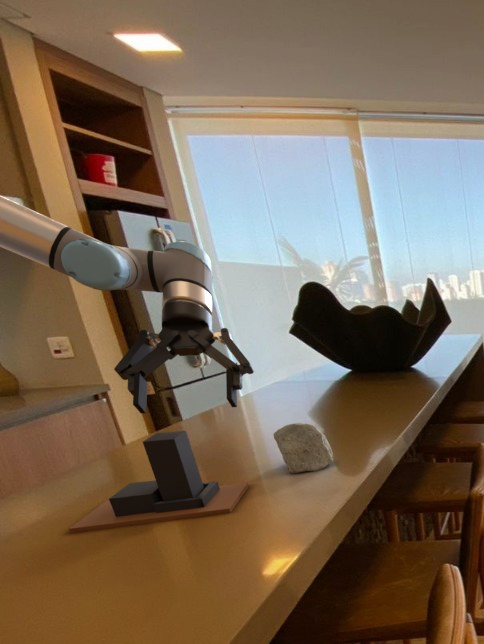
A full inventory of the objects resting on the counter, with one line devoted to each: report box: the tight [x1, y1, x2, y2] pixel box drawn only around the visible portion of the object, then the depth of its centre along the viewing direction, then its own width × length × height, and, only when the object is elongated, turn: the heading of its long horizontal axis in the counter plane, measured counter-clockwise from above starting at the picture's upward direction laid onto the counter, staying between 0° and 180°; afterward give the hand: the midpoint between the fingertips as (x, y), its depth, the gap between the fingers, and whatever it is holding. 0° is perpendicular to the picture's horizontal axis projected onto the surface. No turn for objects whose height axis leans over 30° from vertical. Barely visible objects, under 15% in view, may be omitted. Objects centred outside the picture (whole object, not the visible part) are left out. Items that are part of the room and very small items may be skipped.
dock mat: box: [68, 479, 250, 534], centre depth 92 cm, size 20×14×4 cm
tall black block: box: [142, 430, 204, 501], centre depth 91 cm, size 4×6×11 cm, turn 23°
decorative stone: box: [272, 422, 334, 474], centre depth 112 cm, size 13×11×10 cm
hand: (186, 406), depth 100 cm, fingers open, 13 cm apart
